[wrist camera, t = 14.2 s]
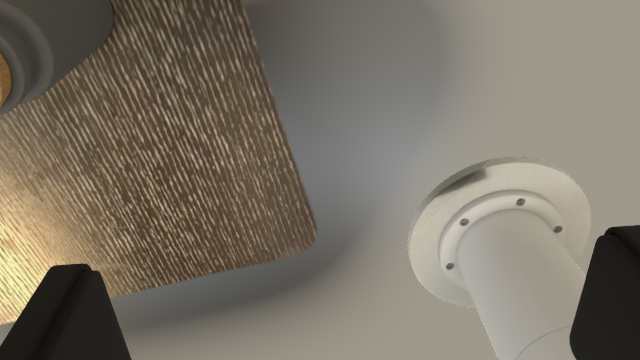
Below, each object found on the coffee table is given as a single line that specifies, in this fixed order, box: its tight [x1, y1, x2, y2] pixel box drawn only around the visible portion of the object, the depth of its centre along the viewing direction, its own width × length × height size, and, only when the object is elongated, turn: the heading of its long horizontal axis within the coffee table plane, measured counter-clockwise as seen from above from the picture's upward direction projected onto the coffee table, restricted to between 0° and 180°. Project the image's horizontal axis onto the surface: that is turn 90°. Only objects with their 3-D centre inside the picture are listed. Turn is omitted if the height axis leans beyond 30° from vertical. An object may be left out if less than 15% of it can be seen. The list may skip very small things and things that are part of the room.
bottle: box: [0, 0, 114, 115], centre depth 29 cm, size 6×6×15 cm
